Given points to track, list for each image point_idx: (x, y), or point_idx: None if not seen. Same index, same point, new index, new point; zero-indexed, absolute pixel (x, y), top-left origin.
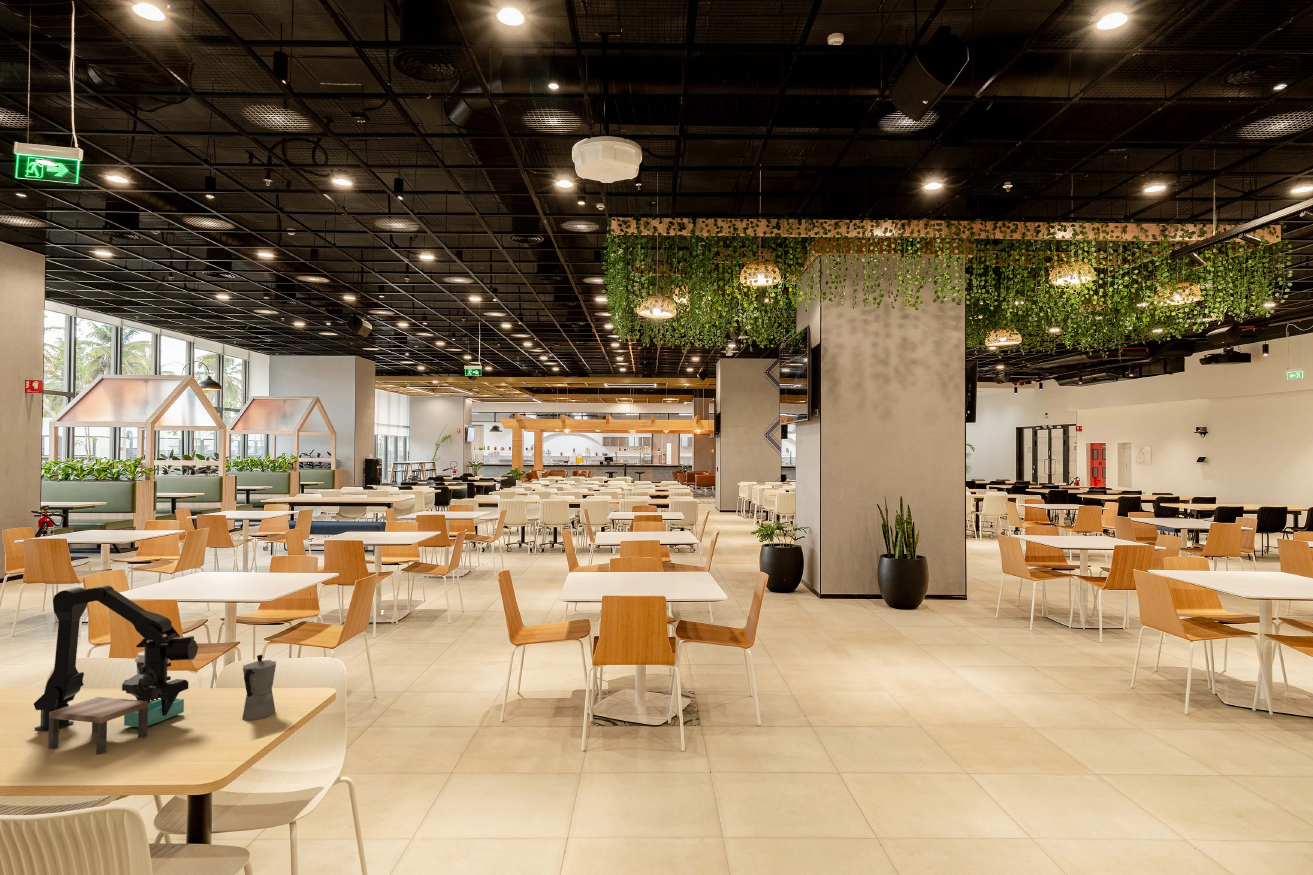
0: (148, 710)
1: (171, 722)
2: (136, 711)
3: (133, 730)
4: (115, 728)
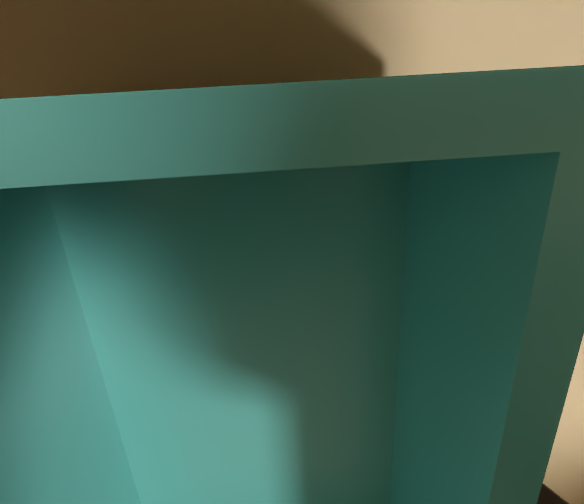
0: (415, 483)
1: None
2: (456, 347)
3: (166, 49)
4: (534, 39)
